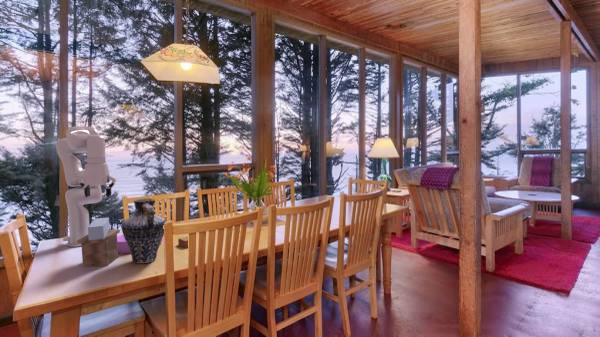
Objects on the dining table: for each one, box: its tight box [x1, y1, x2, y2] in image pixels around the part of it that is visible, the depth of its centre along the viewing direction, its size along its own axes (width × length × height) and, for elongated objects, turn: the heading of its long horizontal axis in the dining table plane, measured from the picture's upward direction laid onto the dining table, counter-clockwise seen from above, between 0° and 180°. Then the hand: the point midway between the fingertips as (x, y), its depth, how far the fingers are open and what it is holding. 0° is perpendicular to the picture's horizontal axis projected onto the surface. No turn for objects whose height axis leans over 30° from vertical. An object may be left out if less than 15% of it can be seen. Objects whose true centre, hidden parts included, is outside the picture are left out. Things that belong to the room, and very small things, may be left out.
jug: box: [121, 197, 167, 264], centre depth 161 cm, size 21×19×30 cm
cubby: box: [77, 229, 121, 268], centre depth 160 cm, size 11×17×13 cm, turn 5°
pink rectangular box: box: [117, 234, 164, 255], centre depth 183 cm, size 25×15×13 cm, turn 128°
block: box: [88, 217, 110, 240], centre depth 160 cm, size 18×6×6 cm, turn 23°
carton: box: [177, 236, 189, 249], centre depth 189 cm, size 8×16×4 cm, turn 134°
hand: (98, 196), depth 162 cm, fingers open, 9 cm apart
